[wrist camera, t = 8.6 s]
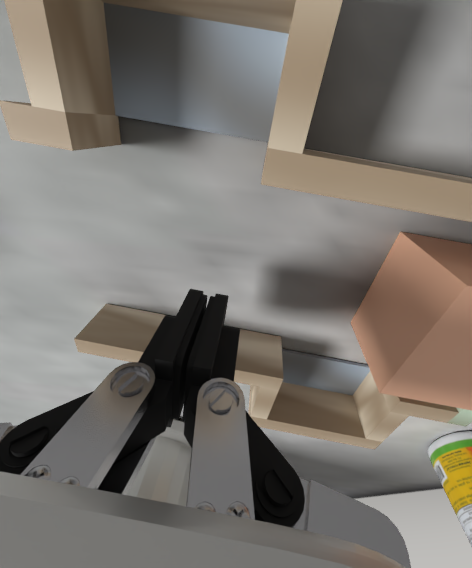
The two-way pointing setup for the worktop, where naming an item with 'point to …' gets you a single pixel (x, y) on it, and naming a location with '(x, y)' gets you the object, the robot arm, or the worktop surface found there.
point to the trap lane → (234, 122)
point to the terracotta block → (420, 321)
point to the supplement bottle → (455, 473)
